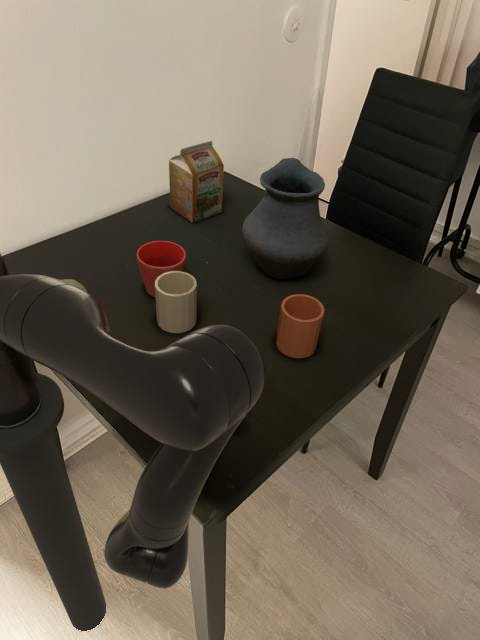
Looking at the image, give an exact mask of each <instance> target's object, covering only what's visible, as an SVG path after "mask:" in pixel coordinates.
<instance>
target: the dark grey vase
mask: <svg viewBox="0 0 480 640" xmlns="http://www.w3.org/2000/svg"><path fill="white" fill-rule="evenodd" d="M259 182H260V183H259V184H260V185H261V187H262V188H263V189H265V191H264V194H263V196H262V198H261V200H260V201H259V202H258V204H257V205H256V207H255V208H254V209H253V210H251V212H250V213H249V214H248V215H247V216H246V217H245V219H244V221H243V223H242V227H241V228H242V230H241V231H242V237H243V240H244V244H245V246H246V247H247V248H248V250H249V253H250V254H251V256H252V258H253V260H254V262H256V263H257V265H259V267H260V269H261V270H262V271H263V273H265V275H266V276H268V277H269V278H272V279H275V280H291V279H295V278H298V277H300V276H302V275H303V274H305V273H306V272H307V271H308V270H309V269H310V268H311V267H312V266H313V265H314V264H315V263H316V262H317V261H319V260H320V259H321V258H322V257H323V256H324V254H325V253H326V251H327V250H328V248H329V245H330V237H329V234H328V231H327V229H326V226H325V224H324V222H323V220H322V216H321V212H320V199H319V198H320V196H321V194H322V193H323V192H324V191H325V187H326V184H325V183H326V182H325V181H324V178H323V177H322V176H321V175H320V174H319V173H318V172H316V171H313V170H311V169H310V168H308V167H307V166H306V165H304V164H303V163H302V162H301V161H300V159H298V158H295V157H287V158H282V159H281V160H279V161H278V162H277V163H276V164H275V165H273V166H272V167H270V168H268V169H267V170H265V171H264V172H262V173H261V175H260V177H259Z"/></svg>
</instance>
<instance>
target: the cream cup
mask: <svg viewBox="0 0 480 640" xmlns="http://www.w3.org/2000/svg"><path fill="white" fill-rule="evenodd" d="M197 283H198V282H197V279H196V278H195V277H194V276H193V275H192V274H190V273H189V272H186V271H183V272H182V271H170V272H166V273H163V274H162V275H160V276H158V278H157V279H156V281H155V296H156V297H155V309H156V322H157V325H158V327H159V328H160V329H161V330H162V331H165V332H167V333H170V334H183V333H186V332H188V331H191V329H193V328H194V327H195V325H196V324H197V317H198V313H197V311H198V310H197V308H198V306H197V305H198V304H197V303H198V284H197Z"/></svg>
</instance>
